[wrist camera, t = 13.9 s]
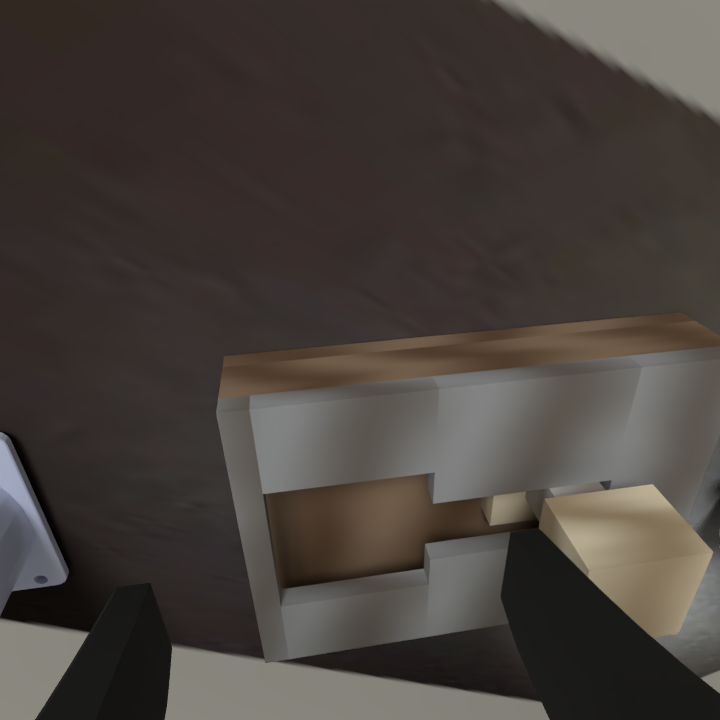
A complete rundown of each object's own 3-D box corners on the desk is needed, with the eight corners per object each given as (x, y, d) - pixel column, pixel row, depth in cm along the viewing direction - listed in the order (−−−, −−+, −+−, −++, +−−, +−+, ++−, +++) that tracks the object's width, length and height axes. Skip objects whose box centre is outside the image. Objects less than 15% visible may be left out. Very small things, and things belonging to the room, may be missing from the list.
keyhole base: (265, 590, 26) (265, 662, 23) (224, 356, 20) (216, 413, 16) (614, 539, 28) (657, 599, 25) (681, 312, 22) (750, 355, 18)
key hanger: (480, 505, 24) (553, 661, 18) (490, 418, 22) (579, 564, 16) (581, 492, 25) (685, 638, 19) (601, 406, 22) (730, 541, 16)
